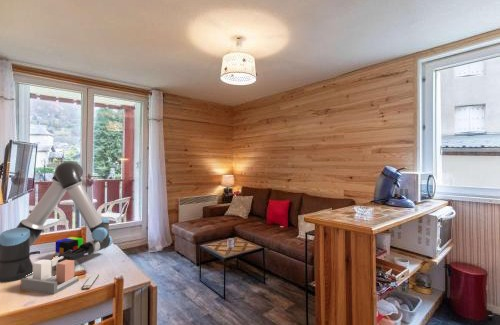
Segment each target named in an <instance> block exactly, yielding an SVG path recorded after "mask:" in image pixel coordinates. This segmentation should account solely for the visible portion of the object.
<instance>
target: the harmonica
mask: <svg viewBox="0 0 500 325" xmlns="http://www.w3.org/2000/svg"><path fill="white" fill-rule="evenodd" d="M99 276H100V274H99V273H98V274H91V275H90V276H89V277H88V279H87V280H86V282H85V283H84V284H83V287H82V289H81V291H86V290H90V289H91V287H92V286H93V285H94V283H95V282H96V281H97V279H98V278H99Z"/></svg>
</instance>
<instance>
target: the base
mask: <svg viewBox="0 0 500 325" xmlns="http://www.w3.org/2000/svg"><path fill="white" fill-rule="evenodd" d="M52 275H53V274H51V276H52ZM54 275H55V276H52V277H50V278H48V279H46V280H39V279H32V278H31V277H25V278H22V279H20V290H21V291H27V292H28V291H29V292H32V293H33V292H35V293H41V294H49V295H56V294H58V293H59V292H61V291H63V290H66V289H67V288H69V287H70V286H72V285H74V284H77V283H78V282H79V281H80V278H79V277H78V275H77V276H74V278H72V279H70V280H68V281H66V282H64V283H58V282H56V274H54Z"/></svg>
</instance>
